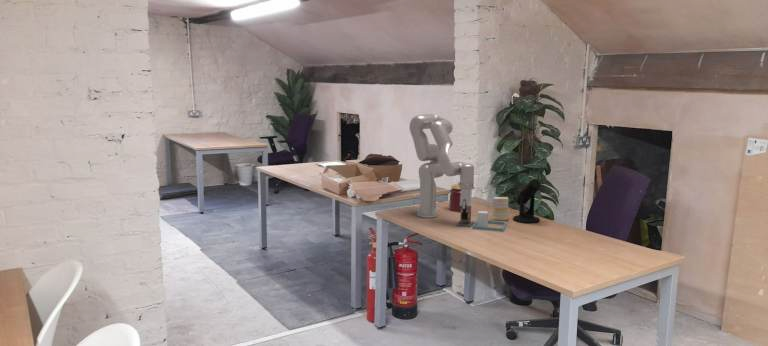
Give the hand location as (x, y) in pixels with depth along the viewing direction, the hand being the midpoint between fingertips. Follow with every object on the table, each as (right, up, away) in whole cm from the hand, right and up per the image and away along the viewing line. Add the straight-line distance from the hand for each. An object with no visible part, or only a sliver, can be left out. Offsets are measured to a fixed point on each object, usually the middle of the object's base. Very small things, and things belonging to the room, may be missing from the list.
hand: (465, 217), depth 310 cm
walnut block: (0, -2, 0) cm, 2 cm away
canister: (+2, +2, +36) cm, 36 cm away
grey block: (+9, -5, -2) cm, 10 cm away
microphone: (+37, -3, +10) cm, 38 cm away
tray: (+13, -5, -4) cm, 14 cm away
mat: (0, -4, +1) cm, 4 cm away
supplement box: (+22, -2, +12) cm, 25 cm away
